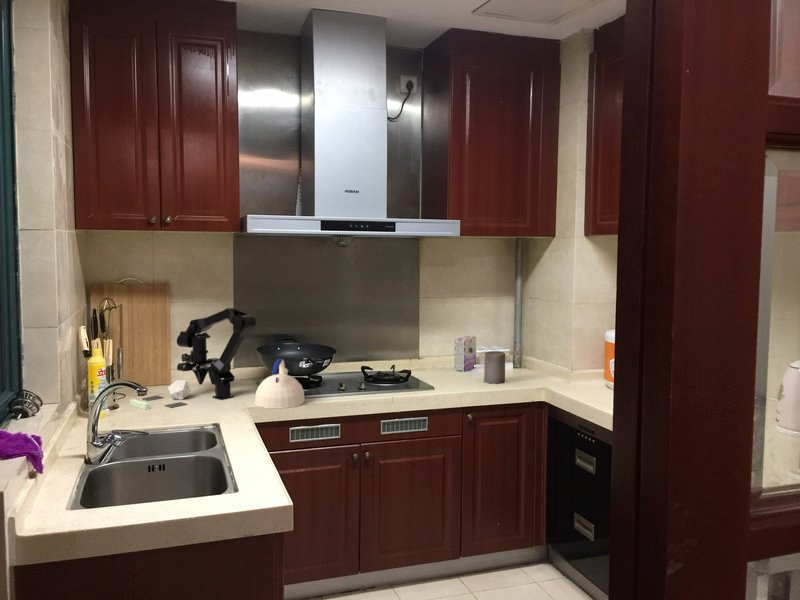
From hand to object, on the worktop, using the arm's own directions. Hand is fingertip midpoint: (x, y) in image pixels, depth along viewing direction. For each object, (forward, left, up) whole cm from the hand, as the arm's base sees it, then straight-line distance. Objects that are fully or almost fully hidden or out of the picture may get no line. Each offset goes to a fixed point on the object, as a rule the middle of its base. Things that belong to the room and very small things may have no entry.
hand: (200, 384), depth 276 cm
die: (0, +10, -5) cm, 11 cm away
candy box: (-55, -120, -5) cm, 132 cm away
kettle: (-37, -13, -5) cm, 39 cm away
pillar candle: (-83, -103, -5) cm, 132 cm away
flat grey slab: (0, +21, -4) cm, 21 cm away
